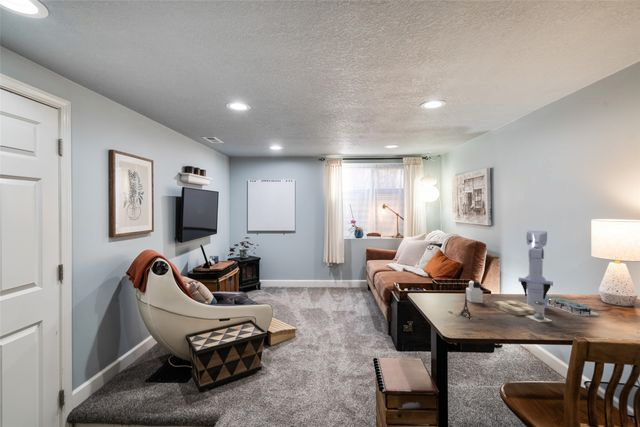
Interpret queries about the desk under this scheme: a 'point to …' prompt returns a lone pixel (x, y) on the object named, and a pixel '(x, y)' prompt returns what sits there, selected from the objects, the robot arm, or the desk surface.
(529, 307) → the bore block
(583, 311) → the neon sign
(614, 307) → the desk surface
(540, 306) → the end cover
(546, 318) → the mat
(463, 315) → the eiffel tower figurine
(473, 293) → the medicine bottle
